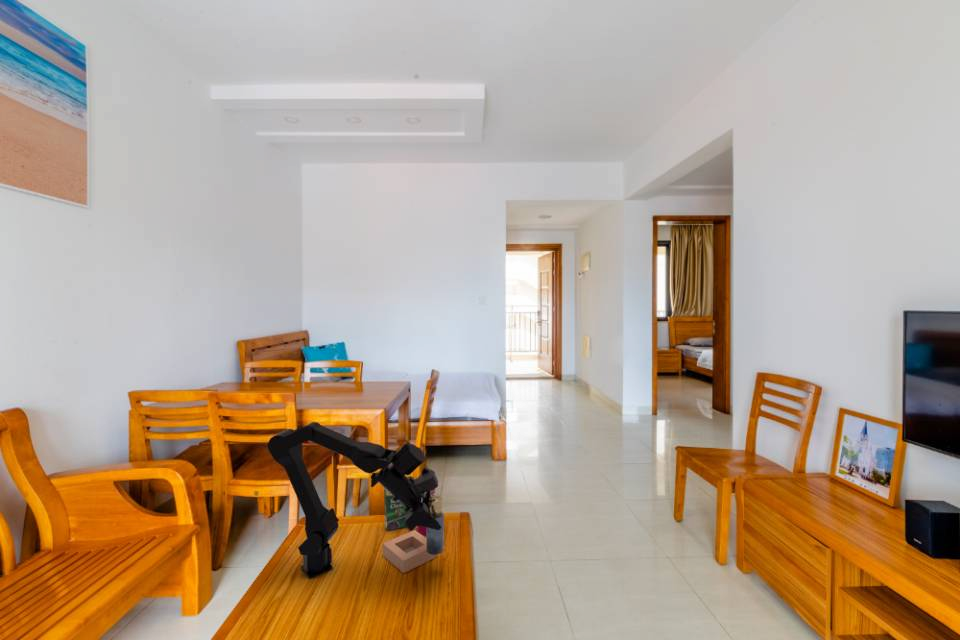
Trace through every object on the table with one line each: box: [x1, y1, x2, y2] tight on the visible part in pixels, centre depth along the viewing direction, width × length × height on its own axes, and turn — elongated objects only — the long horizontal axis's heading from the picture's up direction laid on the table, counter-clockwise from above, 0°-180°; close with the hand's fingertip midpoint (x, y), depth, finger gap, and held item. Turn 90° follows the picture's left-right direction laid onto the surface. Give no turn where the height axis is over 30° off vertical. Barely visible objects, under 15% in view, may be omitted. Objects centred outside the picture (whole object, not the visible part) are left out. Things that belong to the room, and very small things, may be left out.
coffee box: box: [383, 488, 411, 532], centre depth 141 cm, size 8×3×13 cm, turn 111°
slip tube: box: [425, 495, 445, 555], centre depth 117 cm, size 5×5×14 cm
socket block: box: [382, 529, 438, 574], centre depth 125 cm, size 11×11×4 cm
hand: (440, 523), depth 117 cm, fingers closed on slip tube, 5 cm apart
